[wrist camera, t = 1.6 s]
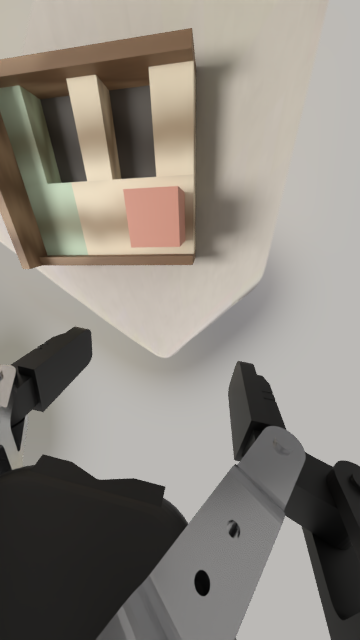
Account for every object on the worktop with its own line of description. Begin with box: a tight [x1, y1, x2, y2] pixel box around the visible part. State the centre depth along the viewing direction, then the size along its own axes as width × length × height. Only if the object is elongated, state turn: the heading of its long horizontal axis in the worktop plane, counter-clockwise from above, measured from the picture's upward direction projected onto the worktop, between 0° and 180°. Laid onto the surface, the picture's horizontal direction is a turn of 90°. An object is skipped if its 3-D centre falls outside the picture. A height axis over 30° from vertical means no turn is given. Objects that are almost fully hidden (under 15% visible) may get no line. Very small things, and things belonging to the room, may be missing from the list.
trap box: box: [0, 28, 196, 269], centre depth 22 cm, size 18×21×6 cm
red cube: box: [123, 186, 185, 248], centre depth 21 cm, size 5×5×5 cm
